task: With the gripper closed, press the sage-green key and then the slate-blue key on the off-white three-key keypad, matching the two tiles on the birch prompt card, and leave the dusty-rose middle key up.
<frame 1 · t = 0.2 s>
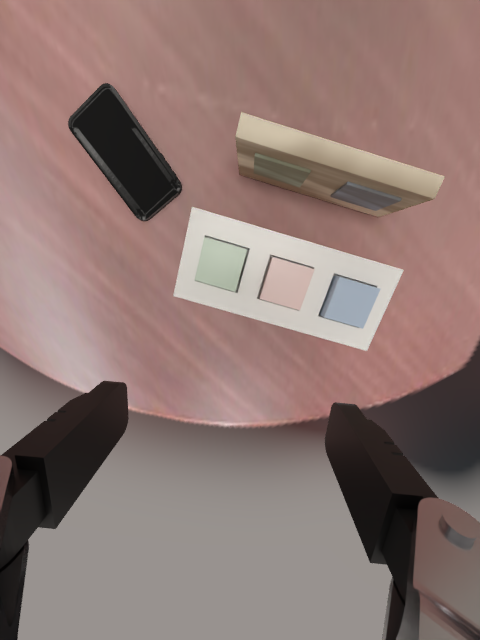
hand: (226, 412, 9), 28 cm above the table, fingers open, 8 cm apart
key sage: (221, 264, 31), point 3 cm above the table, slide at 0.0 cm
key rose: (285, 283, 32), point 3 cm above the table, slide at 0.0 cm
key slate: (347, 301, 32), point 3 cm above the table, slide at 0.0 cm
prompt card: (312, 188, 32), on the table
keypad: (281, 281, 35), on the table
phone: (130, 159, 32), on the table
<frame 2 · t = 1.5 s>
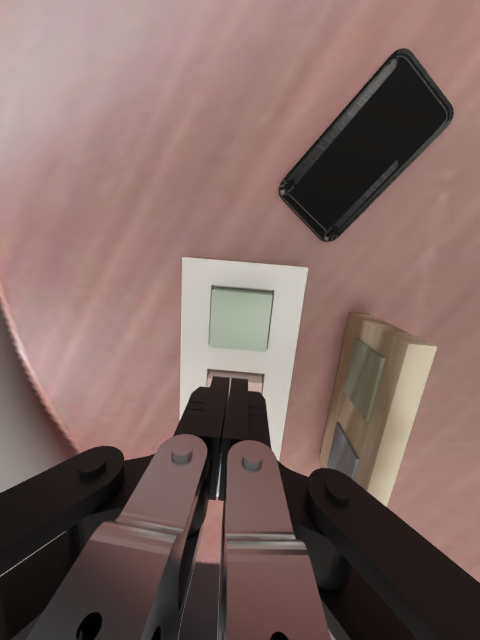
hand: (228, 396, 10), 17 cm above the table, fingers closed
key sage: (240, 318, 23), point 3 cm above the table, slide at 0.0 cm
key rose: (233, 397, 26), point 3 cm above the table, slide at 0.0 cm
key slate: (228, 463, 28), point 3 cm above the table, slide at 0.0 cm
prompt card: (341, 392, 29), on the table
keypad: (235, 382, 29), on the table
phone: (356, 159, 23), on the table
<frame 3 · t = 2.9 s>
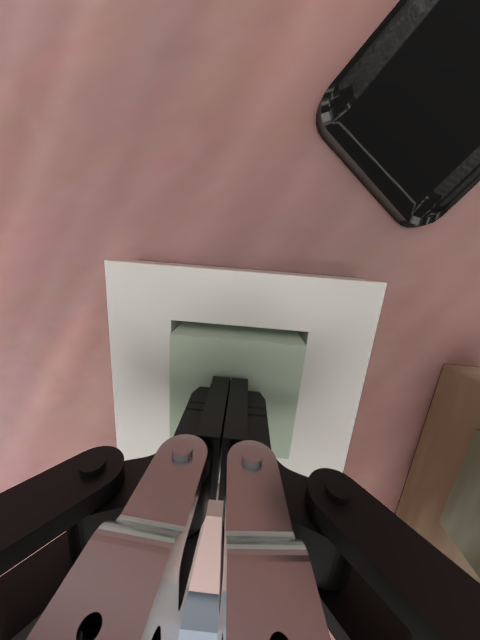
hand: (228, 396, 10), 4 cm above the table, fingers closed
key sage: (234, 384, 12), point 3 cm above the table, slide at 0.4 cm, touching gripper
key rose: (223, 528, 13), point 3 cm above the table, slide at 0.0 cm
key slate: (215, 628, 16), point 3 cm above the table, slide at 0.0 cm
prompt card: (415, 498, 16), on the table
keypad: (228, 478, 16), on the table
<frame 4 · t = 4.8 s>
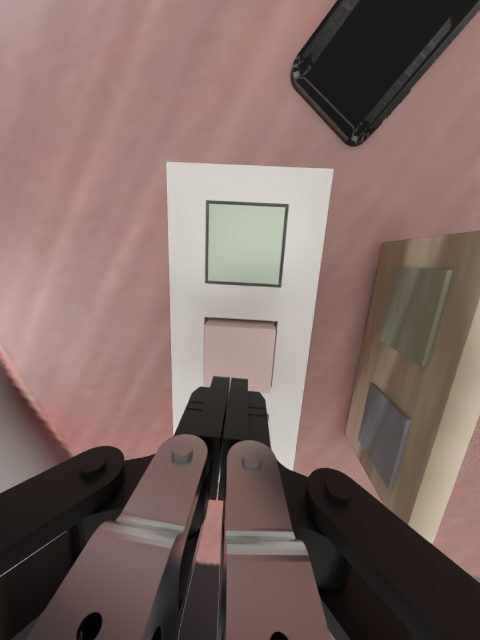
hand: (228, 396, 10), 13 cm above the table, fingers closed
key sage: (245, 246, 19), point 2 cm above the table, slide at 1.2 cm
key rose: (239, 353, 20), point 3 cm above the table, slide at 0.0 cm
prompt card: (372, 349, 23), on the table
keypad: (240, 341, 23), on the table
phone: (392, 29, 17), on the table
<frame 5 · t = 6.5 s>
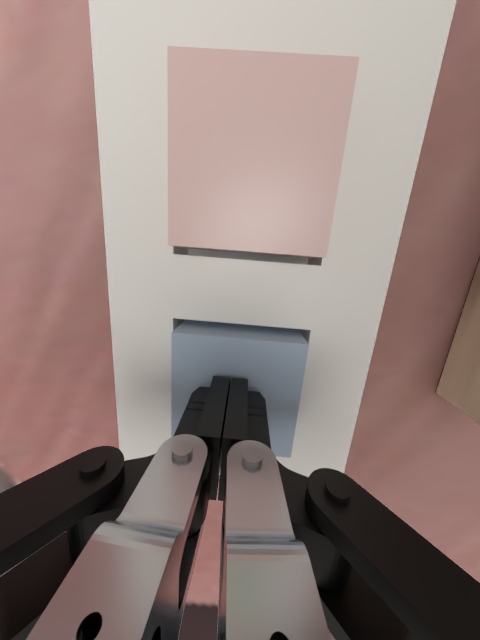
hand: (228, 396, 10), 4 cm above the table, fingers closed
key rose: (253, 175, 9), point 3 cm above the table, slide at 0.0 cm
key slate: (236, 383, 11), point 3 cm above the table, slide at 0.4 cm, touching gripper
keypad: (252, 196, 12), on the table
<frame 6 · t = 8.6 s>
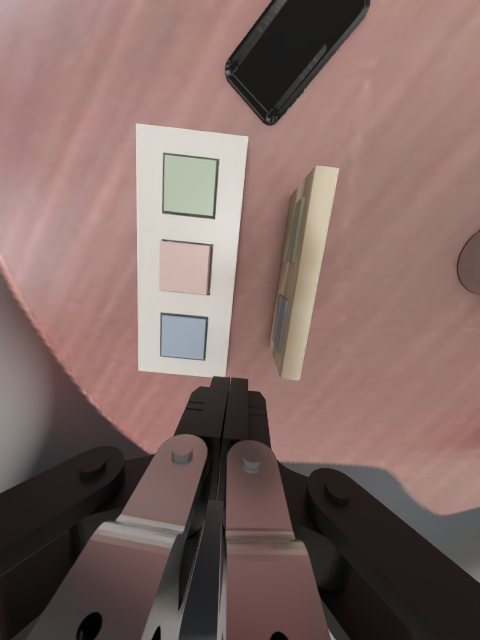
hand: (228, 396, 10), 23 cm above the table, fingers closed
key sage: (191, 189, 27), point 2 cm above the table, slide at 1.2 cm
key rose: (186, 268, 28), point 3 cm above the table, slide at 0.0 cm
key slate: (185, 334, 32), point 2 cm above the table, slide at 1.2 cm
prompt card: (286, 277, 32), on the table
keypad: (191, 267, 32), on the table
phone: (293, 47, 26), on the table
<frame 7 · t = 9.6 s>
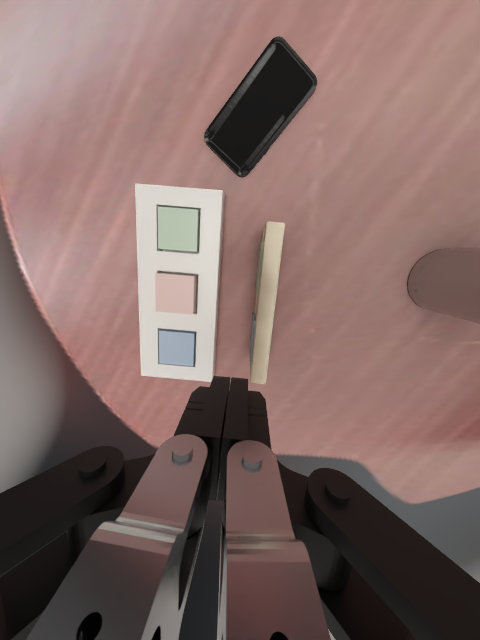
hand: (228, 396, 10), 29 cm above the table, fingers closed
key sage: (180, 230, 34), point 2 cm above the table, slide at 1.2 cm
key rose: (177, 292, 35), point 3 cm above the table, slide at 0.0 cm
key slate: (178, 345, 39), point 2 cm above the table, slide at 1.2 cm
prompt card: (261, 297, 38), on the table
keypad: (182, 290, 38), on the table
phone: (258, 116, 32), on the table
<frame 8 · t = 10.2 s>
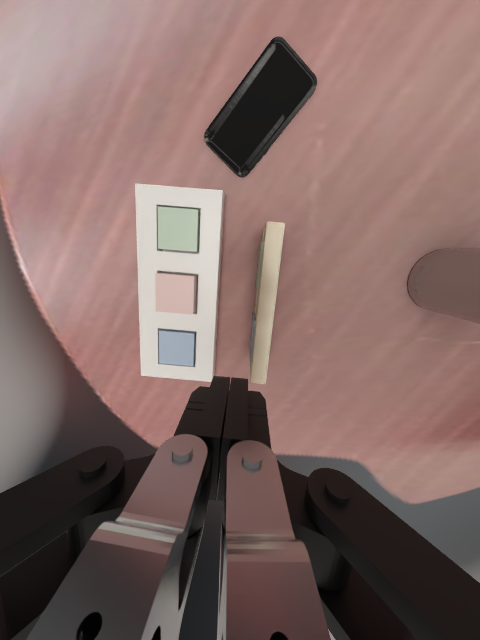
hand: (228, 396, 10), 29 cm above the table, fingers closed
key sage: (180, 230, 34), point 2 cm above the table, slide at 1.2 cm
key rose: (177, 293, 35), point 3 cm above the table, slide at 0.0 cm
key slate: (178, 345, 39), point 2 cm above the table, slide at 1.2 cm
prompt card: (261, 297, 38), on the table
keypad: (182, 290, 38), on the table
phone: (258, 116, 32), on the table
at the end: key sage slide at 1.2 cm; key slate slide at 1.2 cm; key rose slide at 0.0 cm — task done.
